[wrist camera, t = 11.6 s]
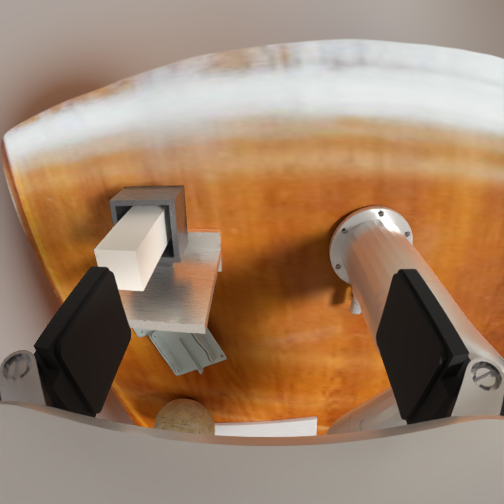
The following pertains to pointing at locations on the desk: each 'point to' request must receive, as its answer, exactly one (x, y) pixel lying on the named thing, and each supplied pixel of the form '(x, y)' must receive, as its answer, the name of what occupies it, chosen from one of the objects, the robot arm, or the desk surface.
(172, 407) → the fossilized egg
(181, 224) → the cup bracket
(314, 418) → the baseboard
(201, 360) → the metal bracket
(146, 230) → the cream rectangular beam
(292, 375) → the desk surface
